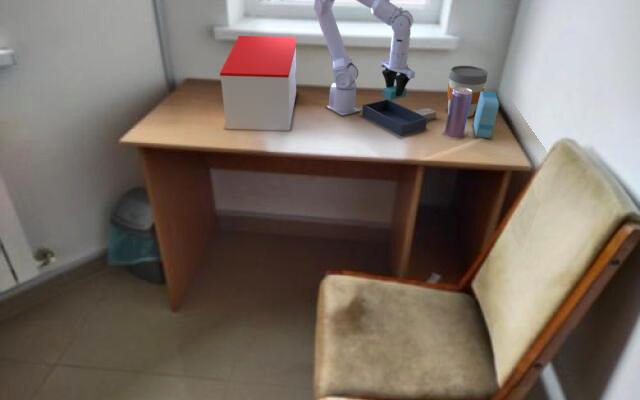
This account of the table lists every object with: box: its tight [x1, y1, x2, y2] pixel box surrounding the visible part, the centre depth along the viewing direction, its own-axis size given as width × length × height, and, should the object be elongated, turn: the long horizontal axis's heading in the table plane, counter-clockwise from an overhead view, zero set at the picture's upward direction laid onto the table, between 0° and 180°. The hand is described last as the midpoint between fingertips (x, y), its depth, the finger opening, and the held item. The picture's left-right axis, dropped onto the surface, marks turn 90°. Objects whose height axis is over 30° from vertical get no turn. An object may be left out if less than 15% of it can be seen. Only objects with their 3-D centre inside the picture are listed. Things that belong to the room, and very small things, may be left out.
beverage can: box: [444, 87, 472, 139], centre depth 138 cm, size 6×6×15 cm
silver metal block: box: [413, 107, 437, 121], centre depth 152 cm, size 4×7×3 cm, turn 124°
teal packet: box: [381, 85, 408, 101], centre depth 148 cm, size 4×7×3 cm, turn 123°
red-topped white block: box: [219, 35, 297, 131], centre depth 151 cm, size 21×35×21 cm, turn 179°
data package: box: [473, 90, 500, 139], centre depth 141 cm, size 12×4×12 cm, turn 167°
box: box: [361, 98, 428, 137], centre depth 148 cm, size 20×11×4 cm, turn 34°
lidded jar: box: [447, 65, 488, 118], centre depth 154 cm, size 13×13×15 cm
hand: (394, 93), depth 148 cm, fingers closed on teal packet, 4 cm apart
